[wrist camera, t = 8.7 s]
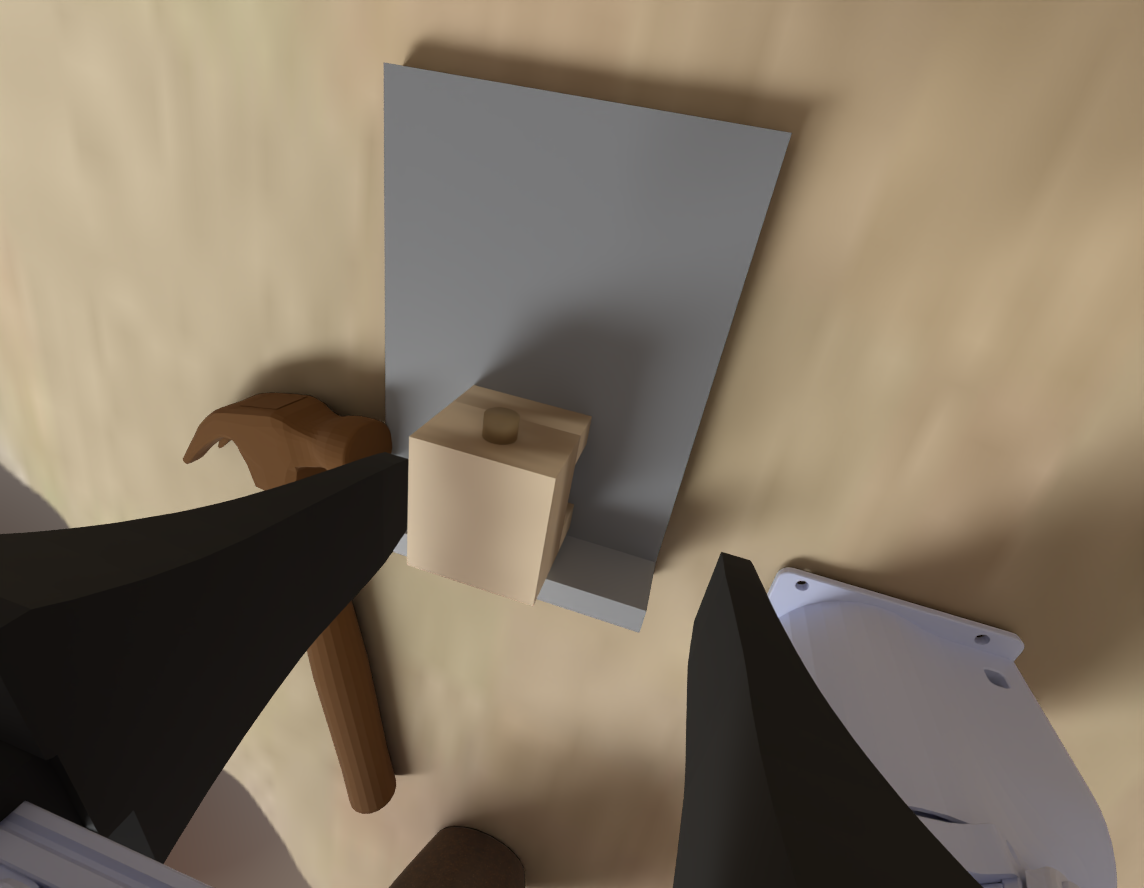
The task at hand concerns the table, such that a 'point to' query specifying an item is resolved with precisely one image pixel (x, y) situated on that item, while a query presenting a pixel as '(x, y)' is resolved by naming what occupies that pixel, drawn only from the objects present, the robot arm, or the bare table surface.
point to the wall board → (569, 289)
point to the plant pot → (463, 863)
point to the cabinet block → (493, 491)
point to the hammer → (338, 656)
